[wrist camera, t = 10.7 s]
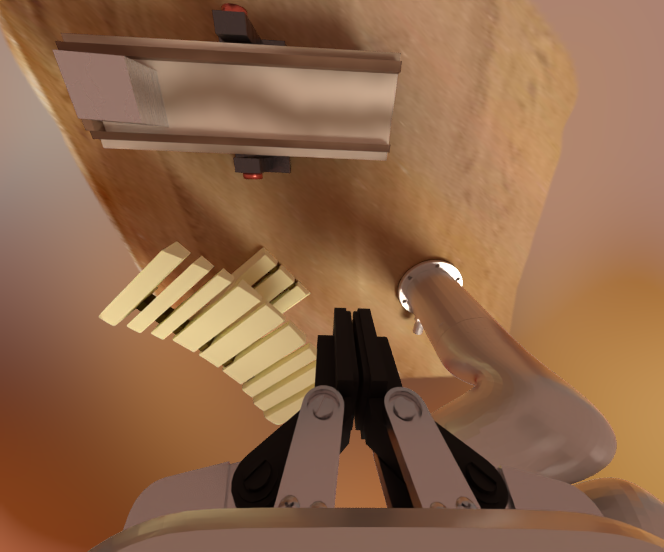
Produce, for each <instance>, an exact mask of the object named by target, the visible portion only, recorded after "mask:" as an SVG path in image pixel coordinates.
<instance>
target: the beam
mask: <svg viewBox="0 0 664 552" xmlns="http://www.w3.org/2000/svg"><path fill="white" fill-rule="evenodd" d="M61 35H62V38H63V40H64V42H61V41H55V42H56V45H57V47H58V50H63V51H74V52H85V53H96V54H107V55H118V56H125V57H127V58H129V59H131V60H134V61H136V62H138V63H140V64H142V65H145V66H147V67H149V68H151V69H153V70H156V71H157V75H158V79H159V84H160V88H161V93H162V97H163V102H164V106H165V110H166V115H167V119H168V124H169V127H162V126H149V125H136V124H124V123H112V122H104V121H96V120H88V119H81V120H82V122H83V125H84V127H85V130H87V131H90V133H91V135H92V138H93V139H101V142H102V145H103V147H104V148H114V149H137V150H159V151H182V152H205V153H227V154H250V155H272V156H295V157H318V158H340V159H363V160H385V161H386V159H387V152H389V151H390V145H388V144H389V137H390V129H391V122H392V115H393V107H394V100H395V92H396V85H397V78H398V74H399V72H400V71H401V64H402V61H400V55H401V53H393V52H376V51H359V50H342V49H325V48H308V47H291V46H274V45H257V44H240V43H223V42H206V41H189V40H172V39H155V38H138V37H121V36H105V35H88V34H71V33H61Z"/></svg>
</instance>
